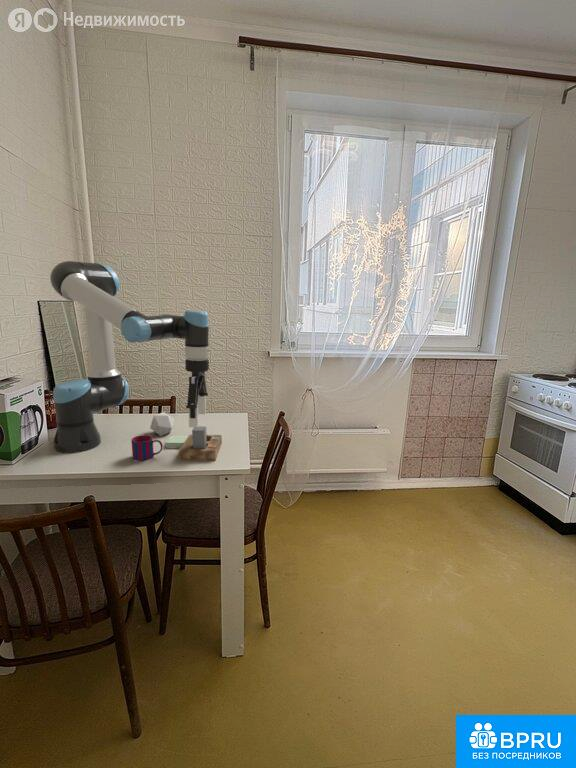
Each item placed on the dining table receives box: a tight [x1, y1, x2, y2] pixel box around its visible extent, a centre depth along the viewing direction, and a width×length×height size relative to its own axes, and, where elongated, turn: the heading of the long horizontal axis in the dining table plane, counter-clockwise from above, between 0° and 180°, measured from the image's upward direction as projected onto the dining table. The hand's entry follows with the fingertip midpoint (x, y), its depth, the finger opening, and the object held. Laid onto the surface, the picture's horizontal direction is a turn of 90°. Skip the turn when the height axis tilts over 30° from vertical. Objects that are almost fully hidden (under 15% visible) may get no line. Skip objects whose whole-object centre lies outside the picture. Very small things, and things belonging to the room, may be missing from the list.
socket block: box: [179, 434, 223, 461], centre depth 136 cm, size 12×15×4 cm
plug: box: [191, 425, 207, 449], centre depth 132 cm, size 4×4×10 cm
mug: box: [131, 434, 164, 462], centre depth 129 cm, size 7×10×7 cm
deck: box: [165, 435, 189, 449], centre depth 142 cm, size 7×7×2 cm
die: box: [149, 411, 175, 437], centre depth 152 cm, size 8×9×10 cm
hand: (197, 420), depth 130 cm, fingers open, 13 cm apart
